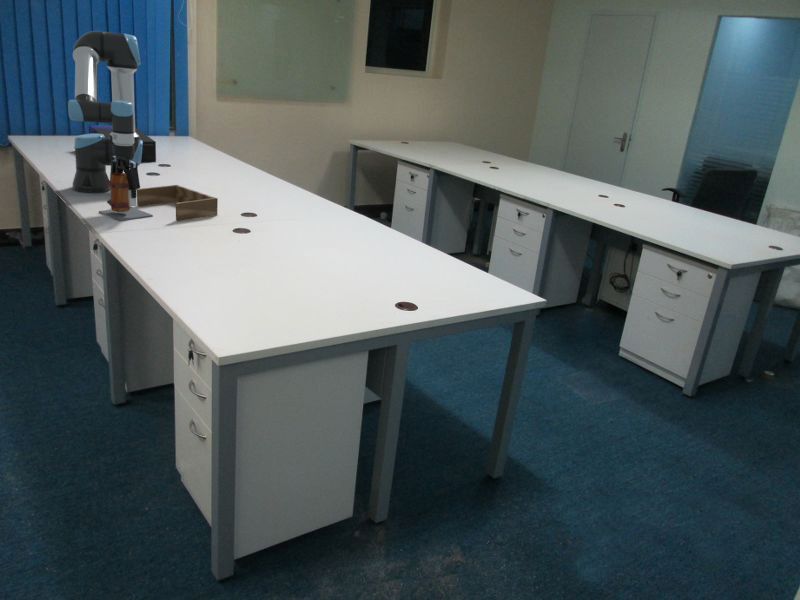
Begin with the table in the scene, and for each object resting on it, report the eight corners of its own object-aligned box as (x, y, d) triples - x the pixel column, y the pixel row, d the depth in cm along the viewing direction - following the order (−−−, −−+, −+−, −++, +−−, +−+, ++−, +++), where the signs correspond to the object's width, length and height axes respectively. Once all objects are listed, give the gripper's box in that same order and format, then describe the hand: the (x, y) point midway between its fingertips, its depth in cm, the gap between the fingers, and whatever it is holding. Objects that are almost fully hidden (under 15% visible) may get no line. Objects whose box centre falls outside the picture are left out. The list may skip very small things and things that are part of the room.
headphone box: (133, 150, 373) (132, 125, 368) (156, 162, 349) (155, 135, 344) (88, 150, 358) (86, 124, 353) (108, 163, 334) (107, 135, 329)
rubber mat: (98, 212, 249) (98, 211, 249) (131, 208, 260) (131, 206, 259) (120, 221, 242) (119, 219, 241) (152, 216, 253) (152, 215, 252)
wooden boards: (137, 205, 264) (136, 189, 261) (177, 200, 279) (176, 184, 276) (177, 221, 250) (177, 203, 248) (217, 215, 266) (217, 198, 263)
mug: (122, 215, 243) (121, 175, 237) (103, 211, 244) (101, 172, 239) (145, 207, 256) (144, 169, 251) (126, 203, 258) (125, 166, 252)
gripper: (97, 139, 243) (100, 198, 252) (131, 149, 233) (133, 210, 241) (116, 138, 249) (118, 196, 257) (149, 148, 238) (150, 208, 247)
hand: (125, 203), depth 249 cm, fingers closed on mug, 8 cm apart
